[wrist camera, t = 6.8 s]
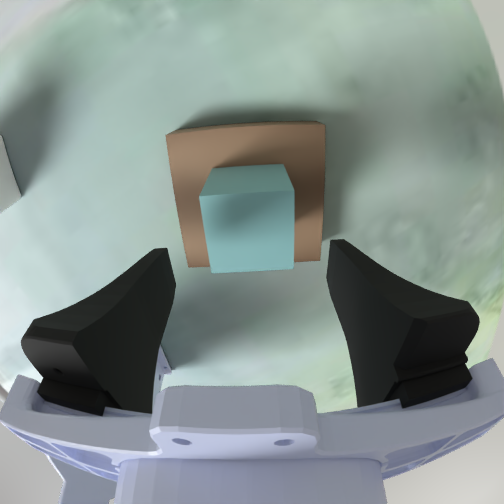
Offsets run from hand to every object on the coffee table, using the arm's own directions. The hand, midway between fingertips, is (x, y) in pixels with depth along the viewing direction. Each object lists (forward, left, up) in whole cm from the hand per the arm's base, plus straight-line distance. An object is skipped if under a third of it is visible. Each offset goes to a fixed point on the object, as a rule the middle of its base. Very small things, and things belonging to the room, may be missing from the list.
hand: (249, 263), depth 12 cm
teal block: (0, 0, -7) cm, 7 cm away
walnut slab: (0, 0, -10) cm, 10 cm away
